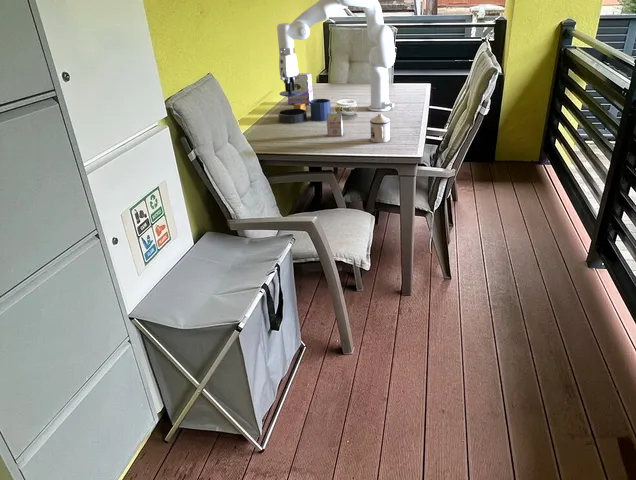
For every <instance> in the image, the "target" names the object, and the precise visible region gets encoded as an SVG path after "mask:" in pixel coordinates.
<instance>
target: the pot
mask: <svg viewBox="0 0 636 480" xmlns="http://www.w3.org/2000/svg"><path fill="white" fill-rule="evenodd" d="M309 108H310V109H309V110H310V119H311V120H312V121H314V122H325V121H326V122H327V114H332V109H331V100H330V99H328V98H313V100H311V101H310V105H309Z"/></svg>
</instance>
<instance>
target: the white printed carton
mask: <svg viewBox="0 0 636 480" xmlns="http://www.w3.org/2000/svg"><path fill="white" fill-rule="evenodd" d="M343 125H344V124H343V115H342V113H331V114H327V120H326V128H327V137H343V134H344V128H343V127H344V126H343Z"/></svg>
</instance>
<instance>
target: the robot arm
mask: <svg viewBox="0 0 636 480" xmlns="http://www.w3.org/2000/svg"><path fill="white" fill-rule="evenodd" d="M343 5H344V6H349V7H354V8H361V9H362V11H363V13H364V17H365V20H366V28H367V30H366V31H367V37H368V40H369V42H371V43H372V44H375V46H373V47H371V49H370V50H369V54H368V63H369V71H370V105H368V106H367V109H368V111H372V112H387V111H390V110H391V108H394V107H395V103H394V102H391V100H390V99H389V68H391V67H392V66H394V63H395V62H396V61H395V60H396V49H395V41H394V34H393V31H392V29H391V27H390V26H388V25H387V24H385V23H384V16H383V11H382V7H381V6H382V5H381V4H380V2H379V0H318V1H316V2H315V3H314V4H313V5H311V6H310V7H308V8H307V9H305V10H304V11H302V12H301V14H299V15H298V16H297V17H296V18H294V19H293V21H292V22H291V23H289V22H283V23H282V22H281V23H278V24H277V26H276V32H277V43H278V52H279V53H278V54H279V56H278V69H279V76H280V78H279V79H280V80H281V81H282V82H283V83H284V89H285V90H284V91H286V92H291V84H290V82H292V89H293V91H295V84H294V82H295V78H296V76H297V75H298V73H299V66H298V65H299V64H298V59H297V55H296V51H295V42H294V41H295V40H297V41H298V40H299V41H304V40H306V39H308V38H309V36H310V35H311V29H310V28H311V27H313V26H314V25H316V24H318V23H320V22H324V21H326V20H328V19H329V18H330V17H331V16H332V15H334V13H336V12H337V10H339V9H340V8H342V6H343ZM286 78H287V79H286Z"/></svg>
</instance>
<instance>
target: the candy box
mask: <svg viewBox="0 0 636 480" xmlns="http://www.w3.org/2000/svg"><path fill="white" fill-rule="evenodd" d="M286 79H287V78H286ZM294 84H295V91H301V92H302V94H300V95H297V96H293V97H287V103H288V105H294V104H297V103H305V106H310V101H311V100H314V93H313V81H312V73H307V72H298V75H297V76H296V78H295V82H294Z"/></svg>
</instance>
